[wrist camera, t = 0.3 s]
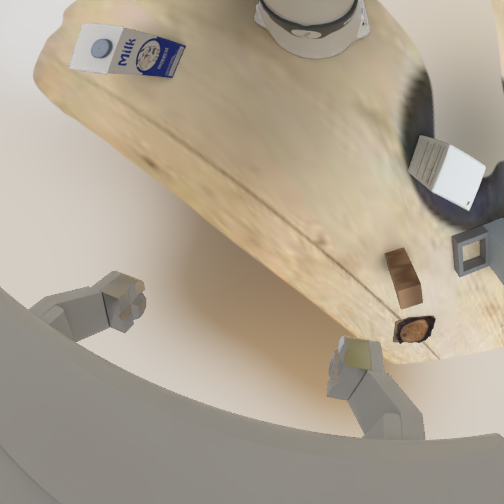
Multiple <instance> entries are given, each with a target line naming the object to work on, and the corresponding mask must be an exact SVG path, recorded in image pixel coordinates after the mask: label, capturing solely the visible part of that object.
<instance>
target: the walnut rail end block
mask: <svg viewBox="0 0 504 504" xmlns="http://www.w3.org/2000/svg"><path fill="white" fill-rule="evenodd" d="M385 255H386V259H387V263H388V267H389V271H390V274H391V278H392V281H393V284H394V287H395V290H396V294H397V297H398V301H399V304H400V308H401V309H404V308H408V307H411V306H414V305H417V304H420V303H423V299H422V290H421V283H420V281H419V279H418V277H417V274H416V272H415V270H414V268H413V265H412V263H411V261H410V259H409V257H408V255H407V253H406V251H405V249H404V248H401V249H398V250H395V251H391V252H388V253H385Z"/></svg>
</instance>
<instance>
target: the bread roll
mask: <svg viewBox="0 0 504 504" xmlns="http://www.w3.org/2000/svg"><path fill="white" fill-rule="evenodd" d="M434 323H435V319H434V316H421V317H415V318H414V317H412V318H407V319H403V320H398V321H396V322H395V330H394V337H393V342H399V343H400V344H401V343H402V342H408V343H412V342H418V343H420V342H422V341H424V340H426V339H427V338H428V337H429V336H431V331H432V329H433V327H434Z"/></svg>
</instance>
